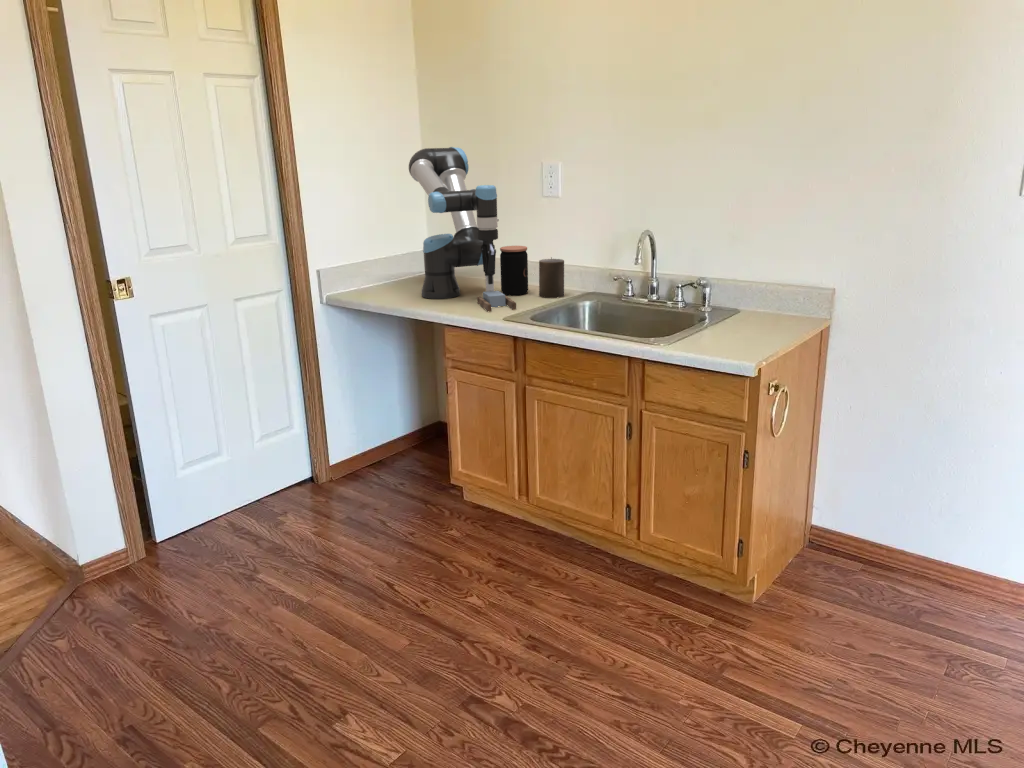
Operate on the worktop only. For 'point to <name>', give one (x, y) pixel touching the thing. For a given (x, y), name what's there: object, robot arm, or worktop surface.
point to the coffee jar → (514, 270)
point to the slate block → (494, 298)
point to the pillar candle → (551, 278)
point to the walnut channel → (488, 306)
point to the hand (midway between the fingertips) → (490, 292)
